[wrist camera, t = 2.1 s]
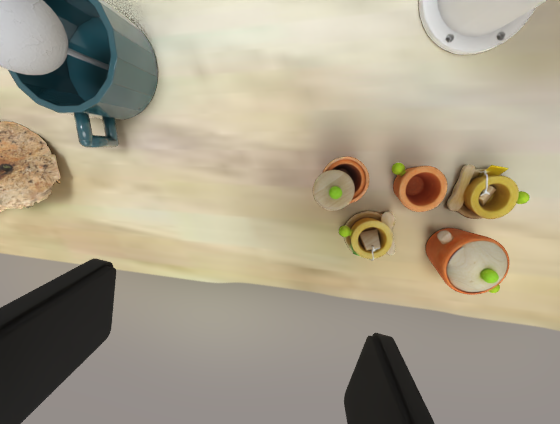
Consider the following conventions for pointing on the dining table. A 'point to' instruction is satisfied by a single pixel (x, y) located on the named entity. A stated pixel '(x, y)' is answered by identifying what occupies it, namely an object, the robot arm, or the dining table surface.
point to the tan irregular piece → (24, 167)
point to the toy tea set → (422, 197)
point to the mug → (96, 70)
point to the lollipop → (34, 38)
